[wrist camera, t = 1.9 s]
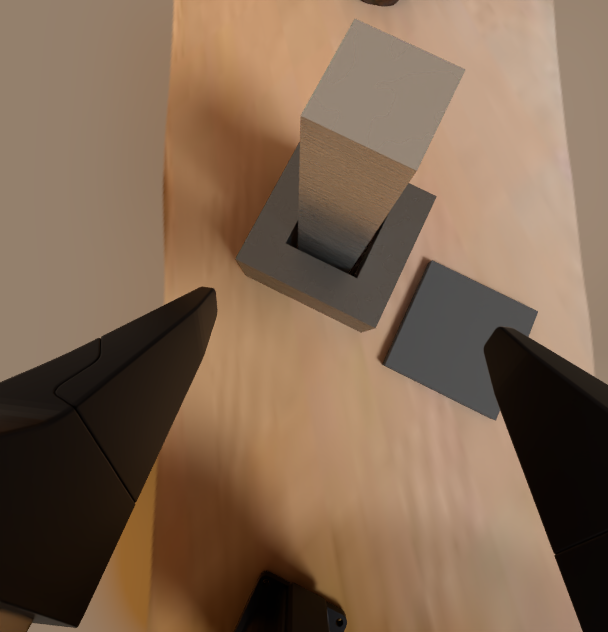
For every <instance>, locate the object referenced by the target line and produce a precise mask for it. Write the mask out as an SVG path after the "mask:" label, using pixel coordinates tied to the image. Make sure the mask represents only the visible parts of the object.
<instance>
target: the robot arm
mask: <svg viewBox="0 0 608 632" xmlns="http://www.w3.org/2000/svg"><path fill="white" fill-rule="evenodd" d="M216 317H217V300H216V291H215V289H214V288H209V287H199V288H197V289H195V290H193V291H191V292H189V293H187V294H185V295H183V296H181V297H179V298H177V299H175V300H174V301H172V302H170V303H168V304H166V305H164V306H162V307H160V308H158V309H156V310H154V311H152V312H150V313H148V314H146V315H144V316H142V317H140V318H138V319H136V320H134V321H132V322H130V323H128V324H126V325H124V326H122V327H120V328H118V329H116V330H114V331H112V332H110V333H107V334H106V335H104V336H102V337H101V338H97V339H95V340H94V341H92V342H89V343H87V344H85V345H83V346H81V347H79V348H77V349H75V350H73V351H71V352H69V353H67V354H65V355H62V356H60V357H58V358H56V359H53V360H51V361H49V362H47V363H44V364H42V365H40V366H37V367H35V368H33V369H30V370H28V371H26V372H23V373H21V374H18V375H16V376H14V377H11V378H9V379H7V380H4V381H2V382H0V632H27V631H28V629H29V627H30V625H31V624H32V623H39V624H47V625H57V626H64V627H73V628H77V627H78V626H79V624H80V622H81V620H82V618H83V616H84V614H85V612H86V610H87V607H88V605H89V603H90V601H91V598H92V597H93V594H94V592H95V590H96V588H97V586H98V584H99V581H100V579H101V577H102V575H103V573H104V571H105V569H106V566H107V564H108V562H109V560H110V558H111V556H112V554H113V551H114V549H115V547H116V545H117V543H118V541H119V538H120V536H121V534H122V532H123V530H124V528H125V526H126V523H127V521H128V519H129V517H130V515H131V512H132V510H133V508H134V506H135V502H136V501H137V499H138V497H139V495H140V493H141V491H142V488H143V486H144V484H145V482H146V480H147V478H148V476H149V473H150V471H151V469H152V467H153V465H154V463H155V461H156V458H157V456H158V454H159V452H160V450H161V448H162V445H163V443H164V441H165V439H166V437H167V435H168V433H169V430H170V428H171V426H172V424H173V422H174V420H175V417H176V415H177V413H178V411H179V409H180V407H181V405H182V402H183V400H184V398H185V396H186V394H187V392H188V389H189V387H190V385H191V383H192V381H193V379H194V377H195V374H196V372H197V370H198V368H199V366H200V364H201V361H202V359H203V357H204V354H205V351H206V348H207V345H208V342H209V339H210V336H211V332H212V329H213V326H214V323H215V320H216ZM484 356H485V360H486V364H487V368H488V372H489V376H490V380H491V384H492V387H493V391H494V394H495V397H496V400H497V403H498V406H499V408H500V411H501V414H502V416H503V419H504V422H505V424H506V427H507V430H508V432H509V435H510V438H511V440H512V443H513V446H514V448H515V451H516V454H517V456H518V459H519V462H520V464H521V467H522V470H523V472H524V475H525V478H526V480H527V483H528V486H529V488H530V491H531V494H532V496H533V499H534V502H535V504H536V507H537V510H538V512H539V515H540V518H541V520H542V523H543V526H544V528H545V531H546V534H547V536H548V539H549V542H550V545H551V547H552V550H553V552H554V554H555V559H556V561H557V564H558V567H559V569H560V572H561V575H562V577H563V580H564V583H565V585H566V588H567V591H568V593H569V596H570V599H571V601H572V604H573V607H574V609H575V612H576V615H577V618H578V620H579V623H580V626H581V628H582V631H583V632H608V385H607V384H605V383H604V382H602V381H600V380H599V379H597V378H595V377H594V376H592V375H590V374H589V373H587V372H586V371H584V370H582V369H581V368H579V367H577V366H576V365H574V364H572V363H571V362H569V361H567V360H566V359H564V358H562V357H561V356H559V355H557V354H556V353H554V352H552V351H551V350H549V349H547V348H546V347H544V346H542V345H541V344H539V343H537V342H536V341H534V340H532V339H531V338H529V337H527V336H526V335H524V334H522V333H521V332H519V331H517V330H516V329H514V328H511V327H503V326H500V327H497V328H496V329H495V330H494V332H493V333H492V335H491V336H490V337H489V339H488V340H487V342H486V343H485V345H484ZM265 579H267V580H268V581H269V582H268V583H264V582H263V580H265ZM338 618H341V619H342V620H341V621H336V620H337V619H338ZM346 625H347V620H346V615H345V613H344V611H343V610H341V609H340V608H338V607H336V606H334V605H332V604H330V603H328V602H326V601H325V599H324V598H322V597H320V596H318V595H316V594H314V593H312V592H310V591H308V590H307V589H305V588H303V587H301V586H299V585H297V584H295V583H290V582H288V581H286V580H285V579H283V578H281V577H279V576H277V575H275V574H273V573H271V572H269V571H264V572H262V573H261V574H260V576H259V578H258V580H257V583H256V585H255V587H254V589H253V591H252V593H251V596H250V598H249V600H248V602H247V604H246V606H245V608H244V611H243V613H242V615H241V617H240V619H239V621H238V624H237V626H236V628H235V630H234V632H344V630H345V628H346Z"/></svg>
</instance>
